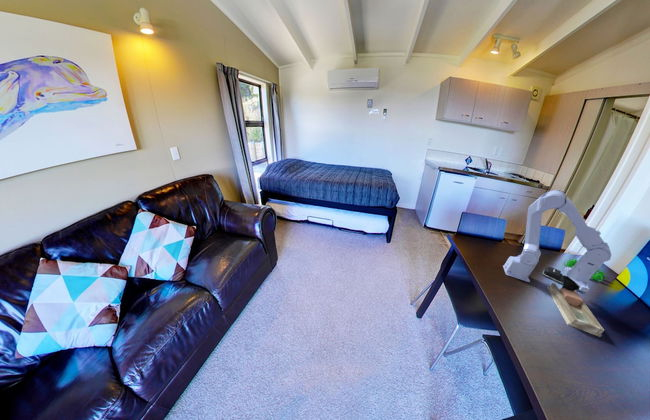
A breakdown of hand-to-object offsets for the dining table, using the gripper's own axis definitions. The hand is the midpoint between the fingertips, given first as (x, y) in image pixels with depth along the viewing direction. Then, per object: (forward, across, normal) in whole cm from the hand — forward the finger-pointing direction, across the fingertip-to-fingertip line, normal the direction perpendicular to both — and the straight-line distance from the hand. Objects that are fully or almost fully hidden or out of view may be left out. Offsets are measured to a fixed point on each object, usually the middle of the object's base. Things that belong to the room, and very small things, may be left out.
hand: (564, 292), depth 92 cm
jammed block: (+1, -4, 0) cm, 4 cm away
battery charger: (0, +11, -8) cm, 14 cm away
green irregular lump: (+3, +30, -18) cm, 35 cm away
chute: (+2, -8, 0) cm, 9 cm away
